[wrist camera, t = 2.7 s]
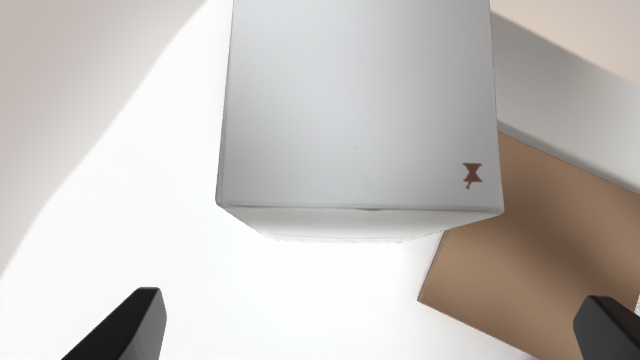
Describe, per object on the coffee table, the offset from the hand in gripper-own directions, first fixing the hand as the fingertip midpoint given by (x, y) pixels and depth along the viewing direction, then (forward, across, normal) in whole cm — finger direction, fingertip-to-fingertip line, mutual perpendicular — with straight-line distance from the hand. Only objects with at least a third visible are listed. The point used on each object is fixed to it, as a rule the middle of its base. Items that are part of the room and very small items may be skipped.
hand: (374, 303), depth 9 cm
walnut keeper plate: (+11, -11, +8) cm, 17 cm away
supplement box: (+14, 0, +6) cm, 15 cm away
